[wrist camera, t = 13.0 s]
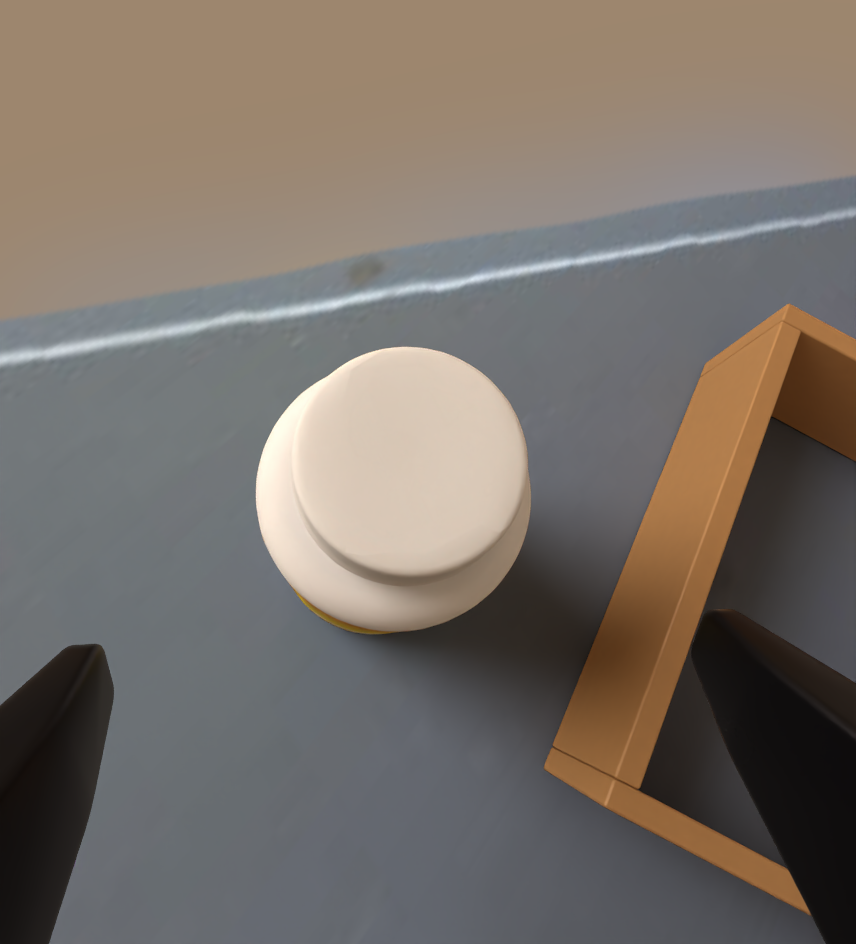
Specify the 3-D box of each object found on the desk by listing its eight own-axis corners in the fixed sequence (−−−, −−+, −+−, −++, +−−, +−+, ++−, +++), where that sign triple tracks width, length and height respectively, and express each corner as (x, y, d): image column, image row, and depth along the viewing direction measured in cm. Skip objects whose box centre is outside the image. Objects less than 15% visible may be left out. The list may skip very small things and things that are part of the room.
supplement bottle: (487, 585, 20) (636, 539, 11) (327, 666, 19) (326, 700, 9) (412, 433, 21) (485, 260, 11) (254, 500, 20) (182, 369, 10)
